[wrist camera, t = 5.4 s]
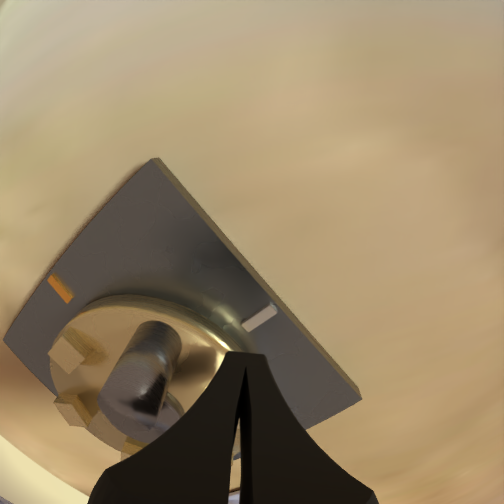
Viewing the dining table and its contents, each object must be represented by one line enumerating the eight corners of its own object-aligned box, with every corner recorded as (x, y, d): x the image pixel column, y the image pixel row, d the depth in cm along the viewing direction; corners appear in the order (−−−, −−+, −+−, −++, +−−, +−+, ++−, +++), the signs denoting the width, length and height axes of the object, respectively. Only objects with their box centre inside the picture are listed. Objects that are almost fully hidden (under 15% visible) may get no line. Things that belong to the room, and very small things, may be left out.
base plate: (172, 470, 20) (169, 482, 19) (10, 332, 16) (1, 341, 15) (358, 387, 16) (363, 401, 15) (158, 157, 13) (149, 158, 12)
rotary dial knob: (226, 462, 17) (219, 534, 12) (68, 408, 16) (33, 469, 11) (292, 338, 14) (306, 437, 8) (66, 262, 13) (-12, 321, 8)
